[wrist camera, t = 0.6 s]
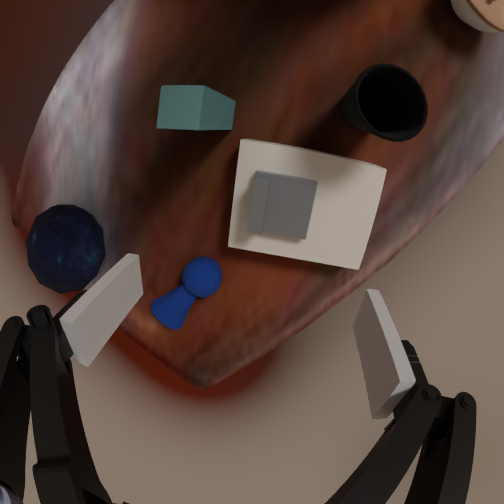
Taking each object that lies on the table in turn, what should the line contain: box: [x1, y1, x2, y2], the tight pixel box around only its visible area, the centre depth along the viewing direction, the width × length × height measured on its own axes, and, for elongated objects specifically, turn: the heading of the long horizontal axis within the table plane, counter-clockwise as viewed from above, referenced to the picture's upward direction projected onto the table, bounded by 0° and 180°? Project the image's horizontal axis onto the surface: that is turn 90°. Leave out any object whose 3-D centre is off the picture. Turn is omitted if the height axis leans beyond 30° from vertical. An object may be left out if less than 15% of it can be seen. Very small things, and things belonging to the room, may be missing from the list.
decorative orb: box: [26, 205, 105, 294], centre depth 37 cm, size 14×15×15 cm
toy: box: [151, 257, 222, 330], centre depth 43 cm, size 7×6×15 cm
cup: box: [341, 63, 428, 142], centre depth 25 cm, size 8×8×12 cm
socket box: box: [228, 139, 387, 270], centre depth 35 cm, size 14×18×4 cm
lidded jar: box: [450, 0, 504, 33], centre depth 13 cm, size 11×11×9 cm
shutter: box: [247, 170, 318, 240], centre depth 31 cm, size 7×7×4 cm
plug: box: [157, 85, 236, 130], centre depth 26 cm, size 4×4×14 cm
